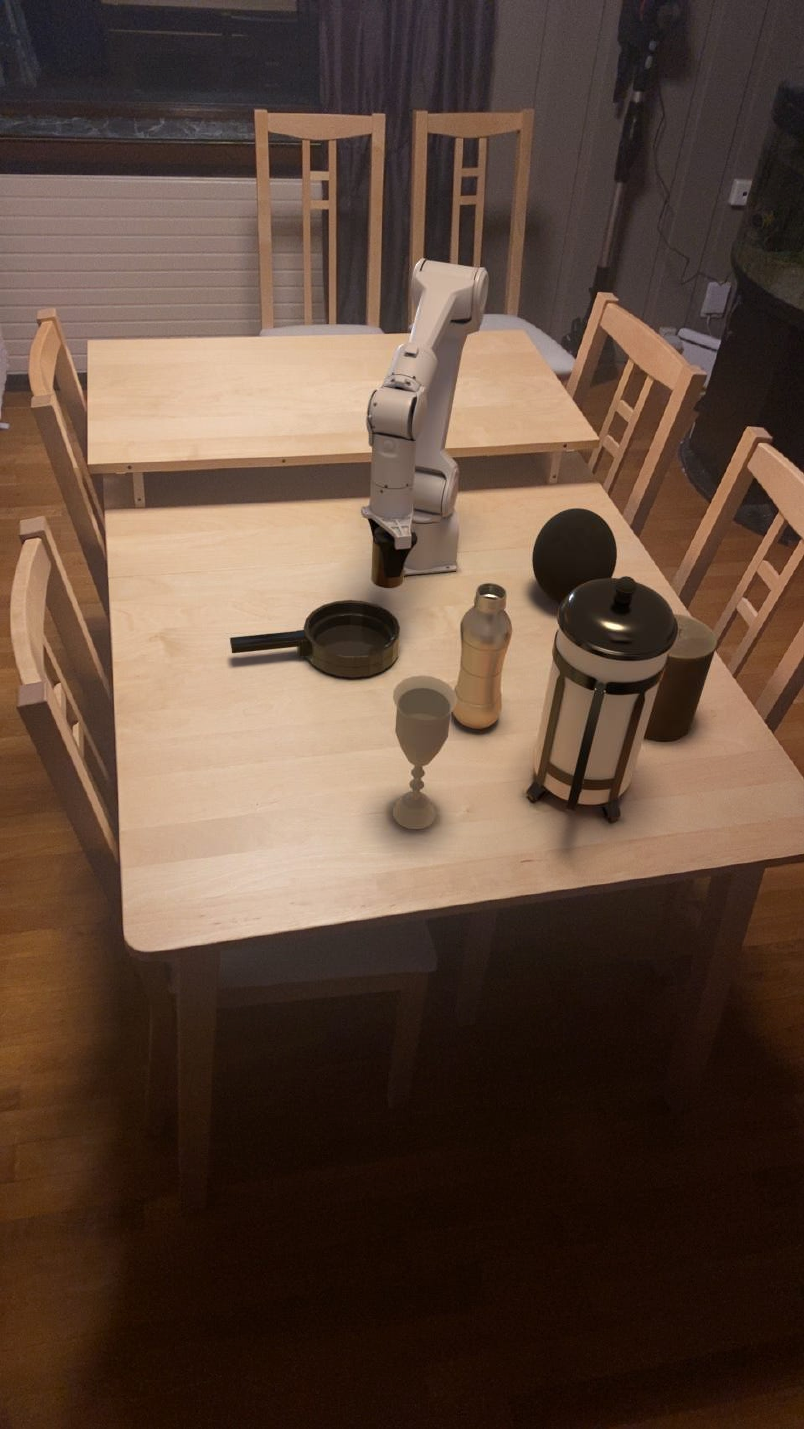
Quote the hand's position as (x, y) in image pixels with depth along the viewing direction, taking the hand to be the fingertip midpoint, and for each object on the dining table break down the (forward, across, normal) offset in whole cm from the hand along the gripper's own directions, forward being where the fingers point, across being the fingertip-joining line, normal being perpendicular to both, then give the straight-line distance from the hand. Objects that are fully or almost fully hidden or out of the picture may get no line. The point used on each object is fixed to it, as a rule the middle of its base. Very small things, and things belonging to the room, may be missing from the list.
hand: (387, 566), depth 141 cm
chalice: (+10, +38, -6) cm, 40 cm away
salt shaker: (+2, 0, 0) cm, 2 cm away
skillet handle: (+9, +6, -18) cm, 21 cm away
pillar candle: (+10, +28, +30) cm, 42 cm away
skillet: (+9, +6, -6) cm, 13 cm away
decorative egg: (+10, 0, +29) cm, 30 cm away
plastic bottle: (+10, +23, +6) cm, 26 cm away
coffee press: (+10, +38, +15) cm, 43 cm away
